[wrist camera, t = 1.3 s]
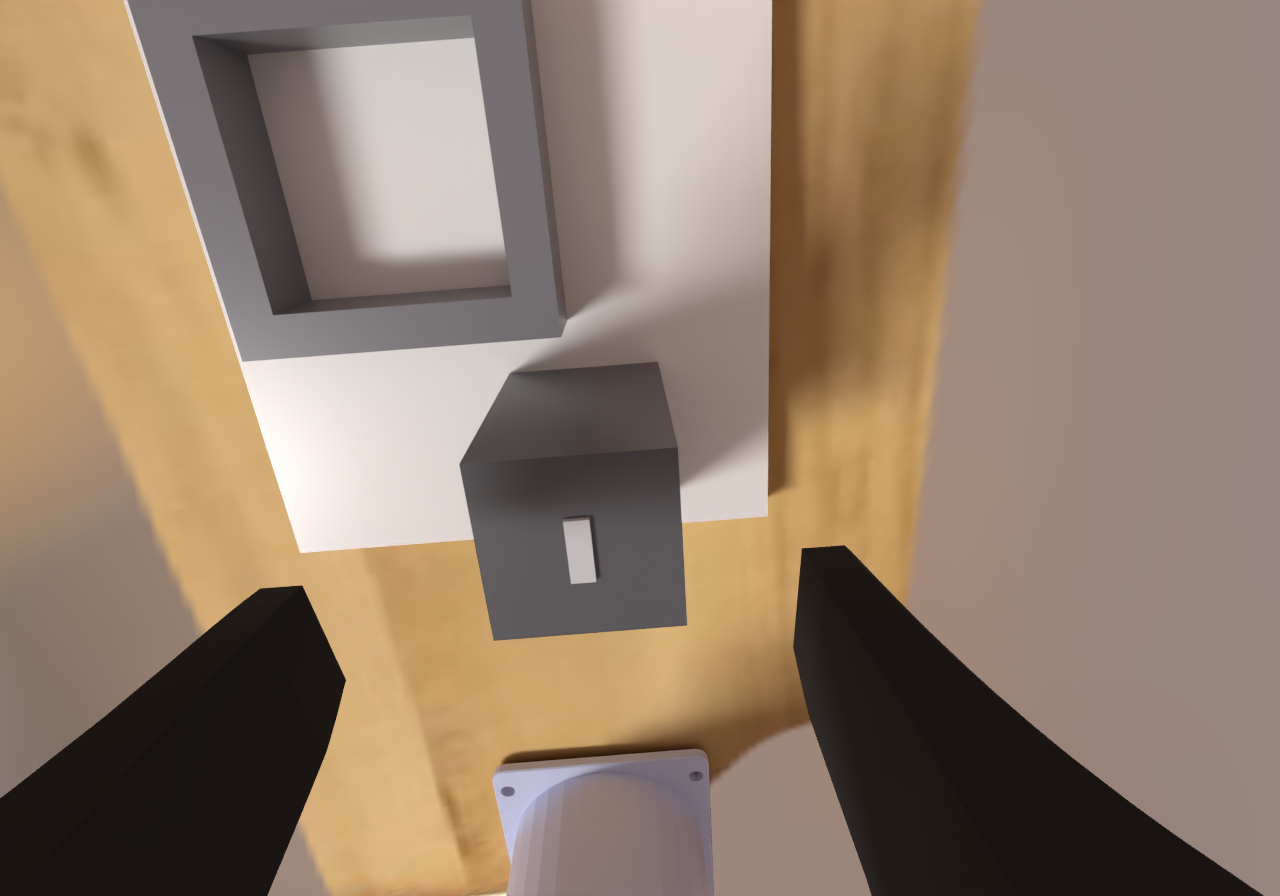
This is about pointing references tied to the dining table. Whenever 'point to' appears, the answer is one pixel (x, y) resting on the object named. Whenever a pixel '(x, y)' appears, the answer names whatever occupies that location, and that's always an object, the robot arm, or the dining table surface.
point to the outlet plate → (474, 229)
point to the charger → (578, 503)
